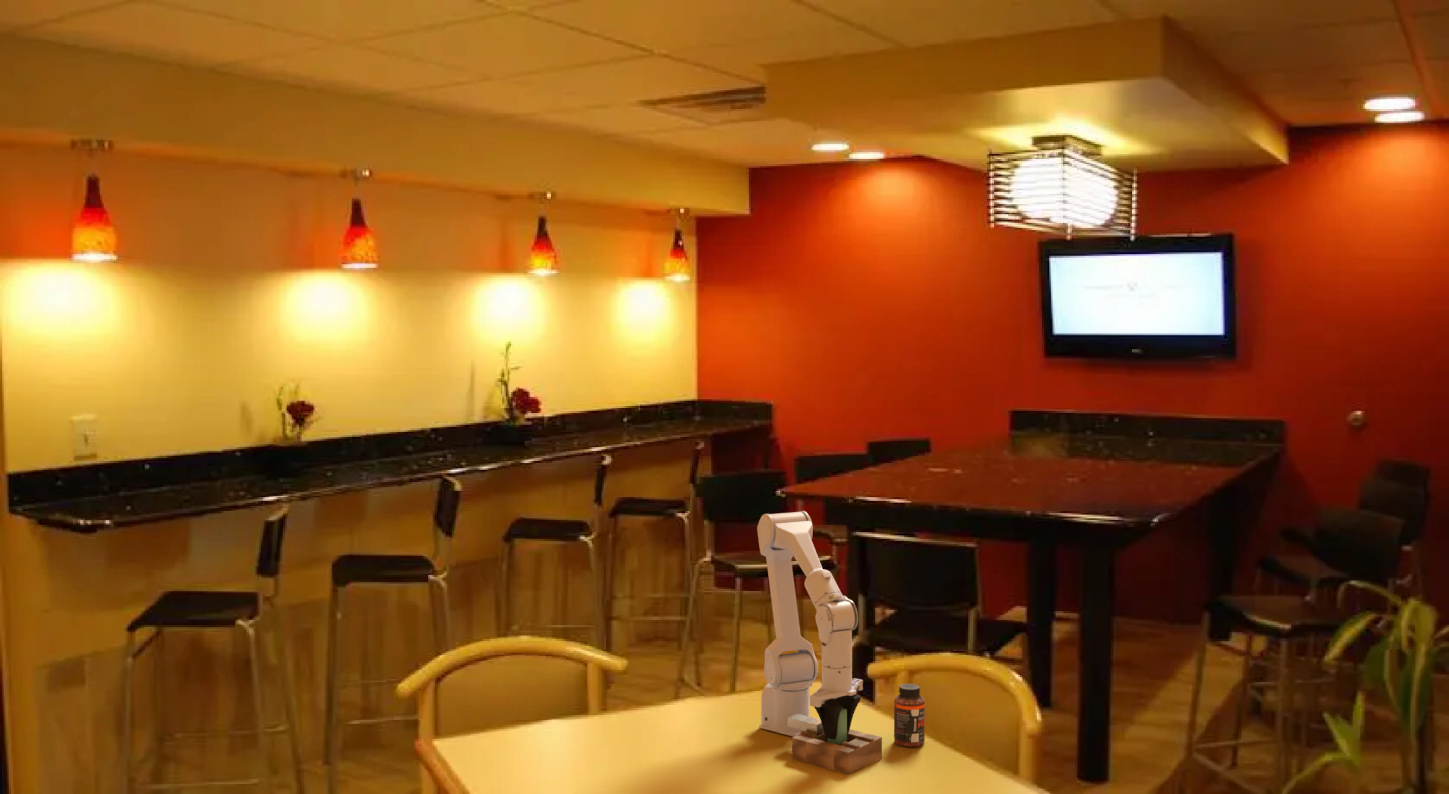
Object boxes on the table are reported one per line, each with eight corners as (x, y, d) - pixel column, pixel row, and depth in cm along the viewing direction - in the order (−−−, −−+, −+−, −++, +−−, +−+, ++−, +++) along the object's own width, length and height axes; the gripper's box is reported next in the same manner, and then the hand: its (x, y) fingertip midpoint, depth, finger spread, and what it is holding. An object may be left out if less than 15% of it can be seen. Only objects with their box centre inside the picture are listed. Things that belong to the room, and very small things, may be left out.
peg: (824, 746, 237) (823, 710, 236) (835, 741, 239) (835, 705, 239) (839, 750, 234) (839, 714, 234) (850, 745, 237) (850, 709, 236)
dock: (792, 758, 237) (791, 735, 237) (826, 743, 245) (826, 720, 245) (848, 774, 229) (848, 750, 228) (881, 758, 237) (881, 734, 237)
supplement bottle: (924, 749, 242) (924, 691, 241) (893, 747, 243) (893, 690, 242) (925, 739, 248) (925, 682, 247) (895, 737, 249) (895, 681, 248)
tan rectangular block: (787, 726, 242) (787, 717, 242) (797, 722, 245) (797, 713, 245) (817, 734, 238) (817, 724, 238) (826, 730, 240) (826, 720, 240)
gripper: (831, 676, 228) (831, 750, 229) (875, 660, 239) (876, 730, 240) (800, 670, 232) (801, 741, 233) (845, 654, 243) (845, 722, 244)
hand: (836, 735), depth 237 cm, fingers closed on peg, 4 cm apart
